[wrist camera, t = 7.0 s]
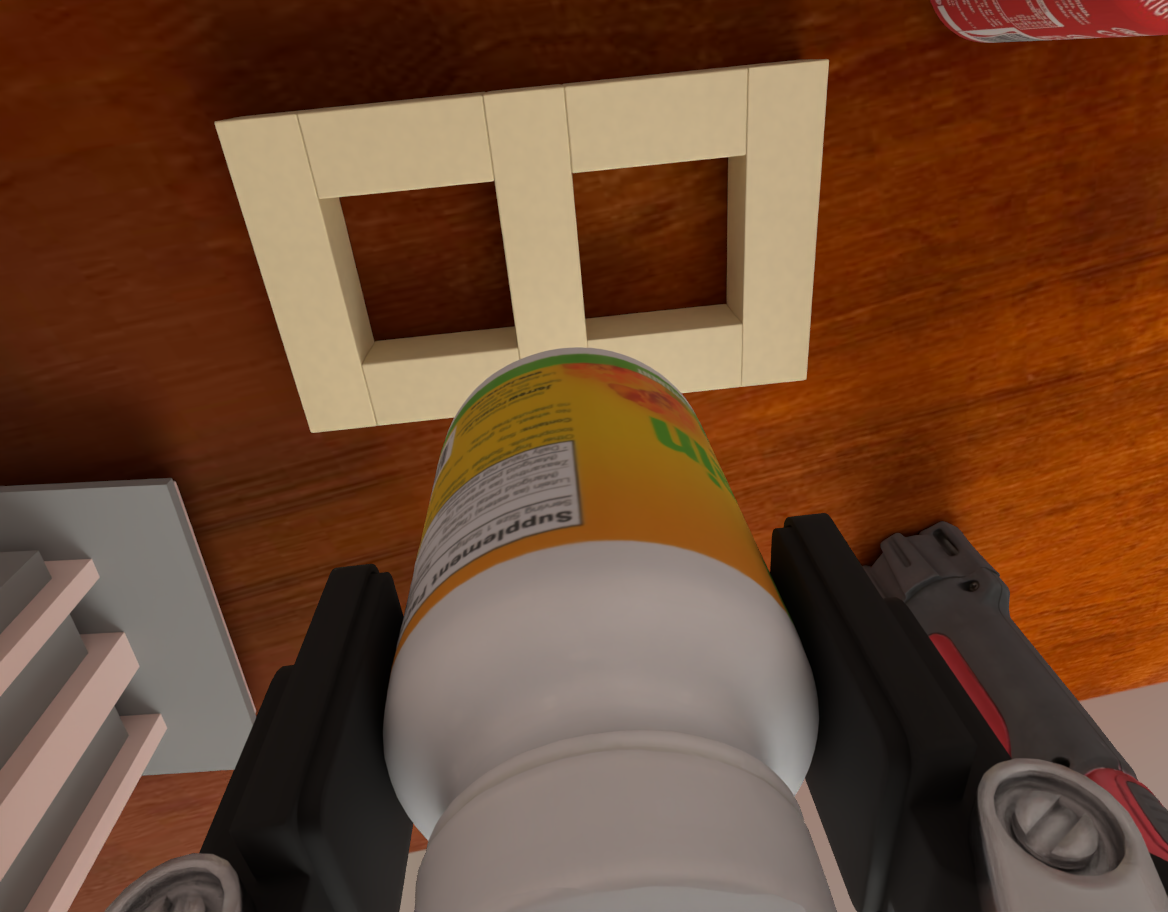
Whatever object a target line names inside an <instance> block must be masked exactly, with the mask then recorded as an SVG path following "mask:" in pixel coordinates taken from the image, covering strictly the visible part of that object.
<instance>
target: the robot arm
mask: <svg viewBox="0 0 1168 912" xmlns="http://www.w3.org/2000/svg"><path fill="white" fill-rule="evenodd" d="M770 574H771V577H772V579H773V581H774V583H775V585H776V587H777V590H778V592H779V594H780V596H781V598H782V600H783V602H784V604H785V606H786V608H787V610H788V612H789V614H790V616H791V619H792V621H793V623H794V626H795V628H796V630H797V633H798V635H799V637H800V640H801V643H802V646H803V648H804V651H805V653H806V656H807V659H808V661H809V664H810V666H811V669H812V672H813V676H814V680H815V685H816V690H817V696H818V708H819V726H818V735H817V741H816V746H815V751H814V754H813V757H812V761H811V764H810V767H809V770H808V772H807V774H806V776H805V779H806V782H807V785H808V787H809V790H810V793H811V795H812V798H813V801H814V803H815V806H816V809H817V811H818V814H819V816H820V819H821V822H822V825H823V827H824V830H825V832H826V835H827V838H828V840H829V843H830V846H831V848H832V851H833V854H834V856H835V859H836V861H837V864H838V867H839V870H840V872H841V875H842V878H843V880H844V883H845V886H846V888H847V891H848V894H849V896H850V899H851V901H852V904H853V905H854V907H855V909H856V911H857V912H1168V861H1166V860H1164V859H1162V858H1160V857H1158V856H1156V855H1154V854H1152V853H1150V852H1149V851H1148V849H1147V846H1146V844H1145V841H1144V839H1143V837H1142V834H1141V832H1140V831H1139V829H1138V827H1137V826H1136V824H1135V822H1134V821H1133V819H1132V817H1131V816H1130V814H1129V812H1128V811H1127V810H1126V809H1125V808H1124V807H1123V806H1122V805H1121V804H1120V803H1119V802H1118V801H1117V800H1116V799H1115V798H1114V797H1113V796H1112V795H1111V794H1110V793H1109V792H1108V791H1107V790H1105V789H1104V788H1102V787H1101V786H1099V785H1098V784H1097V783H1095V782H1094V781H1092V780H1091V779H1090V778H1088V777H1087V776H1085V775H1082V774H1080V773H1078V772H1076V771H1074V770H1072V769H1070V768H1067V767H1065V766H1063V765H1060V764H1056V763H1052V762H1048V761H1044V760H1040V759H1025V758H1015V759H1012V758H1011V757H1010V755H1009V754H1008V752H1007V751H1006V749H1005V748H1004V746H1003V745H1002V744H1001V742H1000V741H999V739H998V738H997V736H996V735H995V733H994V732H993V730H992V729H991V727H990V726H989V724H988V723H987V722H986V720H985V719H984V717H983V716H982V714H981V713H980V711H979V710H978V708H977V707H976V705H975V704H974V702H973V701H972V700H971V698H970V697H969V695H968V694H967V692H966V691H965V689H964V688H963V686H962V685H961V683H960V682H959V680H958V679H957V678H956V676H955V675H954V673H953V672H952V670H951V669H950V667H949V666H948V664H947V663H946V661H945V660H944V658H943V657H942V656H941V654H940V653H939V651H938V650H937V648H936V647H935V645H934V644H933V642H932V641H931V639H930V638H929V636H928V635H927V634H926V632H925V631H924V629H923V628H922V626H921V625H920V623H919V622H918V620H917V619H916V617H915V616H914V614H913V613H912V612H911V610H910V609H909V607H908V606H907V605H906V604H905V603H904V602H903V600H901V599H899V598H897V597H890V598H882V596H881V595H880V593H879V592H878V590H877V589H876V587H875V586H874V584H873V582H872V581H871V579H870V578H869V576H868V575H867V573H866V572H865V570H864V568H863V567H862V565H861V564H860V562H859V561H858V559H857V558H856V556H855V555H854V553H853V551H852V550H851V548H850V547H849V545H848V544H847V542H846V541H845V539H844V537H843V536H842V534H841V533H840V531H839V530H838V528H837V527H836V525H835V524H834V522H833V520H832V519H831V518H830V516H829V515H828V514H826V513H821V514H812V515H803V516H794V517H788V518H786V520H785V522H784V528H776V529H774V530H773V533H772V547H771V568H770ZM403 618H404V616H403V613H402V610H401V606H400V603H399V599H398V596H397V592H396V589H395V585H394V582H393V579H392V576H391V574H390V573H389V572H384V573H379V571H378V568H377V567H376V566H375V565H374V564H366V565H357V566H348V567H339V568H335V569H333V570H332V572H331V573H330V575H329V578H328V580H327V583H326V586H325V588H324V591H323V593H322V596H321V598H320V601H319V603H318V606H317V608H316V611H315V613H314V616H313V619H312V621H311V624H310V626H309V629H308V631H307V634H306V636H305V639H304V641H303V644H302V646H301V649H300V652H299V654H298V657H297V659H296V662H295V664H294V665H290V666H283V667H282V668H280V669H279V670H278V671H277V672H276V674H275V676H274V678H273V679H272V681H271V684H270V686H269V688H268V691H267V693H266V695H265V698H264V700H263V703H262V705H261V707H260V710H259V712H258V715H257V717H256V719H255V722H254V724H253V726H252V729H251V731H250V734H249V736H248V738H247V741H246V743H245V745H244V748H243V750H242V753H241V755H240V757H239V760H238V762H237V765H236V767H235V769H234V772H233V774H232V776H231V779H230V781H229V784H228V786H227V788H226V791H225V793H224V795H223V798H222V800H221V803H220V805H219V807H218V810H217V812H216V814H215V817H214V819H213V822H212V824H211V826H210V829H209V831H208V834H207V836H206V838H205V841H204V843H203V845H202V848H201V850H200V853H192V854H189V855H185V856H181V857H177V858H173V859H170V860H168V861H166V862H165V863H163V864H161V865H159V866H157V867H155V868H153V869H151V870H149V871H147V872H146V873H145V874H143V875H142V876H141V877H139V878H138V879H137V880H136V881H134V882H133V883H132V884H130V885H129V886H128V887H126V888H125V889H124V890H123V892H122V893H121V894H120V895H119V896H118V897H117V898H116V899H115V900H114V901H113V902H112V903H111V905H110V906H109V907H108V908H107V909H106V910H105V912H399V910H400V904H401V898H402V891H403V885H404V879H405V872H406V866H407V859H408V853H409V847H410V840H411V834H412V828H413V822H412V821H411V819H410V818H409V817H408V815H407V813H406V812H405V810H404V808H403V806H402V805H401V803H400V801H399V800H398V798H397V796H396V793H395V791H394V788H393V785H392V783H391V780H390V777H389V773H388V769H387V765H386V762H385V758H384V746H383V722H384V712H385V705H386V699H387V691H388V685H389V679H390V674H391V669H392V664H393V660H394V656H395V652H396V647H397V642H398V638H399V634H400V630H401V626H402V622H403Z"/></svg>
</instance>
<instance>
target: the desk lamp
mask: <svg viewBox="0 0 1168 912" xmlns="http://www.w3.org/2000/svg"><path fill="white" fill-rule="evenodd" d="M255 713H256V709H255V706H254V703H253V700H252V697H251V695H250V692H249V689H248V686H247V683H246V680H245V677H244V675H243V672H242V669H241V666H240V663H239V660H238V657H237V655H236V652H235V649H234V646H233V643H232V640H231V638H230V635H229V632H228V629H227V626H226V623H225V620H224V618H223V615H222V612H221V609H220V606H219V603H218V600H217V598H216V595H215V592H214V589H213V586H212V583H211V580H210V578H209V575H208V572H207V569H206V566H205V563H204V561H203V558H202V555H201V552H200V549H199V546H198V543H197V541H196V538H195V535H194V532H193V529H192V526H191V523H190V521H189V518H188V515H187V512H186V509H185V506H184V503H183V501H182V498H181V495H180V492H179V489H178V486H177V484H176V481H173V479H172V478H162V479H141V480H120V481H99V482H79V483H58V484H37V485H16V486H0V912H67V911H68V909H69V907H70V905H71V904H72V902H73V900H74V898H75V896H76V894H77V893H78V891H79V889H80V887H81V885H82V883H83V882H84V880H85V878H86V876H87V874H88V872H89V871H90V869H91V867H92V865H93V863H94V861H95V860H96V858H97V856H98V854H99V852H100V850H101V849H102V847H103V845H104V843H105V841H106V839H107V838H108V836H109V834H110V832H111V830H112V828H113V827H114V825H115V823H116V821H117V819H118V817H119V816H120V814H121V812H122V810H123V808H124V806H125V805H126V803H127V801H128V799H129V797H130V795H131V794H132V792H133V790H134V788H135V786H136V784H137V783H138V781H139V779H140V777H141V776H143V775H158V774H173V773H188V772H203V771H218V770H233V769H235V767H236V765H237V762H238V760H239V757H240V755H241V753H242V750H243V748H244V745H245V743H246V741H247V738H248V736H249V734H250V731H251V729H252V726H253V724H254V722H255V719H256V715H255Z"/></svg>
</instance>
